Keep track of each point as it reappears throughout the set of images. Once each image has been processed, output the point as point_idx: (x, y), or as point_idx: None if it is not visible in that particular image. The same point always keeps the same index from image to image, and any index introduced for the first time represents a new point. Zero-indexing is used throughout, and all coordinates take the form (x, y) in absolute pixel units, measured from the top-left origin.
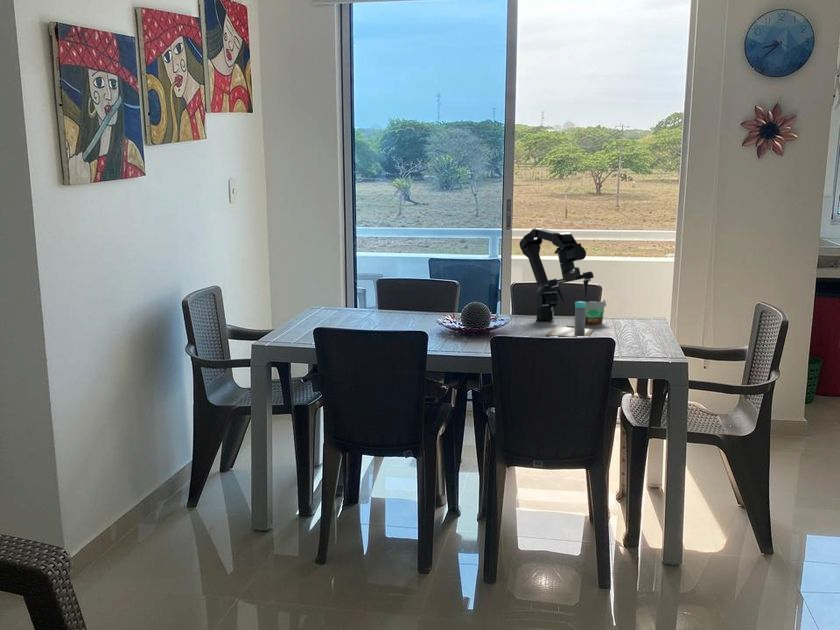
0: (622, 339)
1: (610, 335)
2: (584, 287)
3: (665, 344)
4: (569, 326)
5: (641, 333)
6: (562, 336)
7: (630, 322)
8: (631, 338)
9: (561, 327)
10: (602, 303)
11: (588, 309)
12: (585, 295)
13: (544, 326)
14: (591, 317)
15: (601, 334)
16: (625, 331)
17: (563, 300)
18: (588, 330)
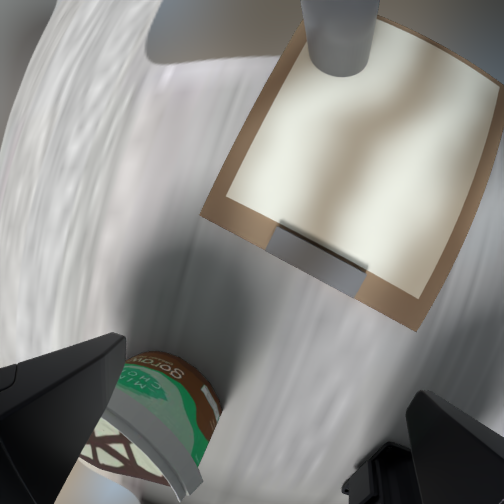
0: (145, 30)
1: (159, 94)
2: (20, 398)
3: (64, 8)
4: (348, 264)
5: (42, 151)
6: (436, 45)
7: (34, 356)
8: (105, 54)
9: (403, 261)
10: None
11: (150, 404)
12: (105, 341)
13: (459, 357)
14: (157, 372)
15: (194, 112)
16: (72, 188)
17: (428, 398)
18: (250, 152)
